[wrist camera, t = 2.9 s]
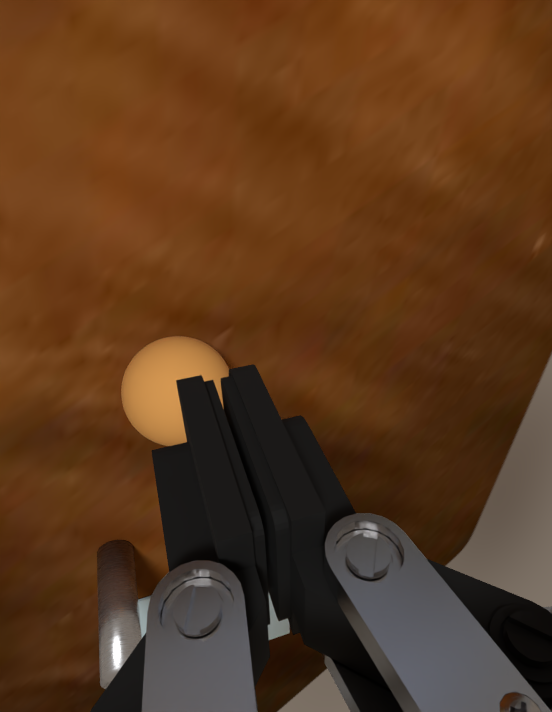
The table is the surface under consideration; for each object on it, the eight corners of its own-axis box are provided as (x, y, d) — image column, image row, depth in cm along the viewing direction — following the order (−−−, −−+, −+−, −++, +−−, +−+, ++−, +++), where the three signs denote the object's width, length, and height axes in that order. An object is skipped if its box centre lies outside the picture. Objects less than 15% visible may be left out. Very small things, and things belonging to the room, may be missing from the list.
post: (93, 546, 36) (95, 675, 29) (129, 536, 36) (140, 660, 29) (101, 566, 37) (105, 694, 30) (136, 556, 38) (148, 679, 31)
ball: (107, 327, 27) (112, 393, 22) (215, 308, 28) (241, 366, 24) (129, 410, 30) (137, 482, 26) (224, 389, 32) (249, 454, 27)
